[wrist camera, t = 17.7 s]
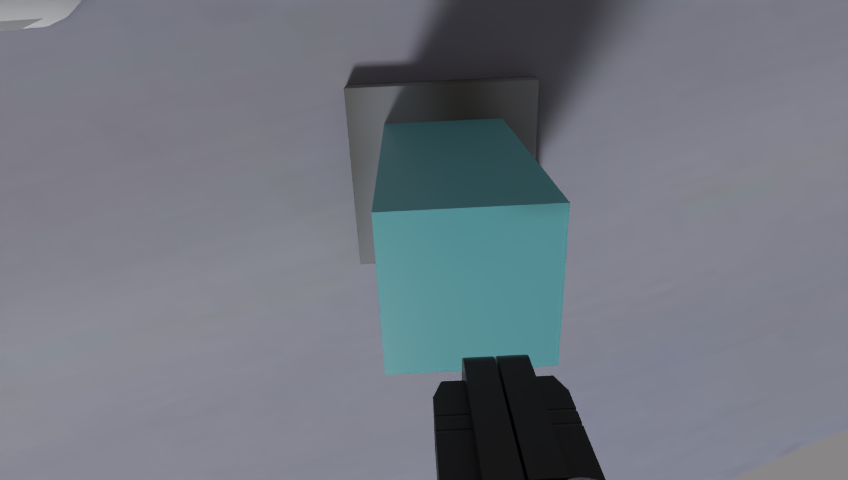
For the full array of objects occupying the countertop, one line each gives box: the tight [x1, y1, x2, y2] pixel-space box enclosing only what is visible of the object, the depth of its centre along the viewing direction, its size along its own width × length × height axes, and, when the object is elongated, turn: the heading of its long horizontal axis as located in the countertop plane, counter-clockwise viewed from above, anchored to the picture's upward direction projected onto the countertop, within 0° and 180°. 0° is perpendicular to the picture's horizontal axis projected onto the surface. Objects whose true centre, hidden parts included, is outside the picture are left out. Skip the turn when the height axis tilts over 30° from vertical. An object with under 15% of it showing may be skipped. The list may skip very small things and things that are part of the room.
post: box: [344, 77, 539, 264], centre depth 25 cm, size 9×9×8 cm
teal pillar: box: [371, 118, 570, 375], centre depth 22 cm, size 6×6×12 cm
